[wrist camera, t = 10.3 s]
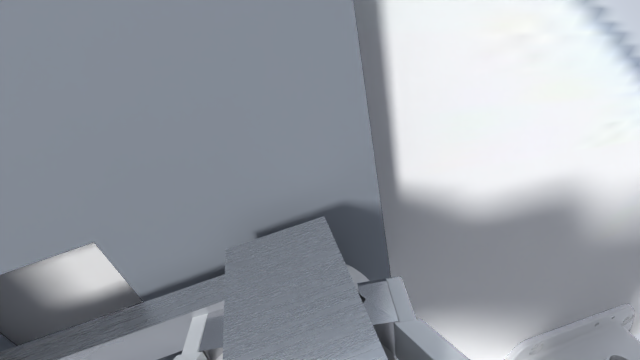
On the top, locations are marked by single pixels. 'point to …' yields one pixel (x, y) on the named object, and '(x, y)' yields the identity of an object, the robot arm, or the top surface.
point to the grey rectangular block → (239, 310)
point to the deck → (182, 134)
